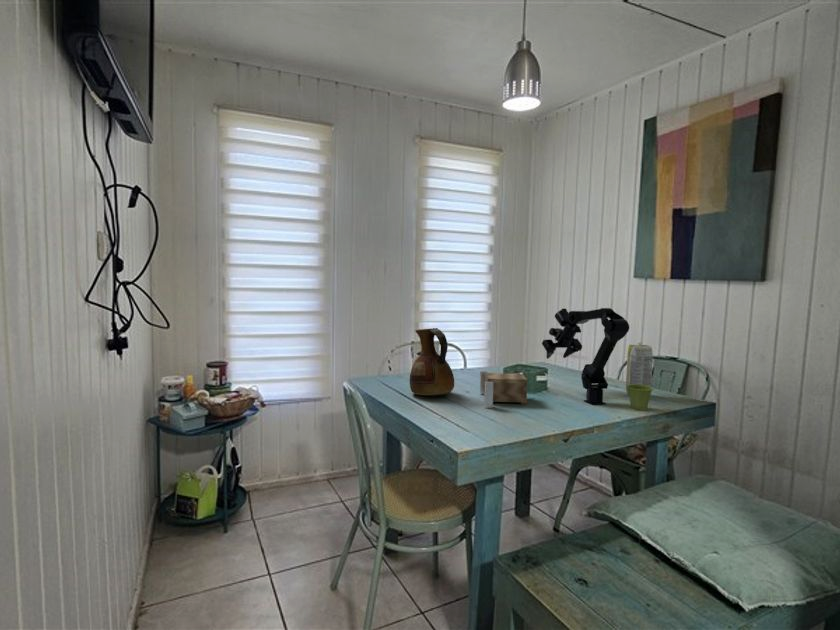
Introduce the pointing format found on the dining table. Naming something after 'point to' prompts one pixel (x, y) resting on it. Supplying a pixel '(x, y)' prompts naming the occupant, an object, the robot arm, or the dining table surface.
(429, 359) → the ceramic pitcher
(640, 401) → the plant pot
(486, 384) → the post
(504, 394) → the wood grain box
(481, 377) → the post
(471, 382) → the dining table surface
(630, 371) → the juice carton
